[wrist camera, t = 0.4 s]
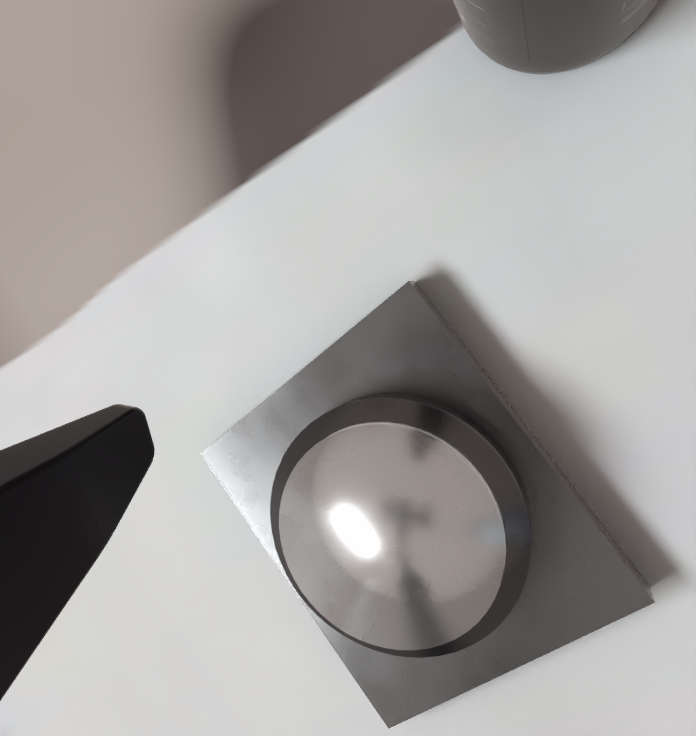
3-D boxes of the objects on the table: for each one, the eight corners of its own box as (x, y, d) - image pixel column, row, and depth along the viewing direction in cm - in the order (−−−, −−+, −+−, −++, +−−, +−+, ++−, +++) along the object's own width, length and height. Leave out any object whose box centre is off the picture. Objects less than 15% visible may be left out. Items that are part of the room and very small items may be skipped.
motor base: (650, 587, 20) (666, 636, 17) (395, 711, 24) (374, 766, 21) (414, 281, 21) (394, 279, 19) (213, 448, 26) (171, 467, 23)
